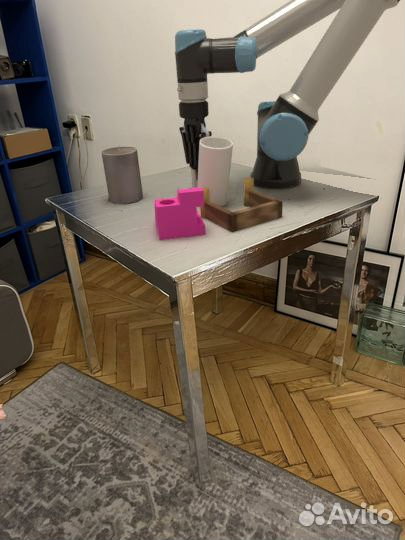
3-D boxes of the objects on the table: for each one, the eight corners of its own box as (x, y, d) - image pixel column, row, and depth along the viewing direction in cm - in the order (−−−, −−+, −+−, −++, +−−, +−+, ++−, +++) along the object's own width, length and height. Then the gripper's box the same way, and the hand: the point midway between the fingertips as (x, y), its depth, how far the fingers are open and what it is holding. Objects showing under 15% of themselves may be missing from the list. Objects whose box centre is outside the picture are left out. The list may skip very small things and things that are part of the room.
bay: (249, 202, 107) (249, 176, 104) (283, 216, 97) (284, 188, 94) (198, 216, 100) (197, 188, 97) (229, 232, 90) (229, 202, 87)
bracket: (205, 235, 90) (203, 190, 85) (159, 240, 88) (155, 195, 84) (196, 216, 100) (194, 176, 95) (155, 221, 99) (150, 180, 94)
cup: (224, 209, 104) (230, 150, 95) (193, 205, 105) (196, 145, 96) (229, 195, 111) (235, 138, 101) (200, 191, 112) (203, 134, 102)
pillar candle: (118, 192, 121) (110, 141, 113) (148, 194, 118) (142, 141, 111) (103, 203, 113) (93, 149, 105) (135, 205, 110) (127, 149, 103)
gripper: (168, 100, 105) (175, 188, 116) (193, 103, 95) (198, 199, 106) (193, 97, 109) (197, 183, 120) (219, 100, 99) (221, 193, 110)
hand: (197, 190), depth 113 cm, fingers closed
